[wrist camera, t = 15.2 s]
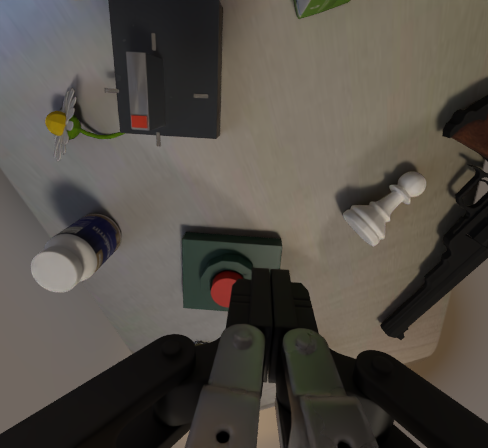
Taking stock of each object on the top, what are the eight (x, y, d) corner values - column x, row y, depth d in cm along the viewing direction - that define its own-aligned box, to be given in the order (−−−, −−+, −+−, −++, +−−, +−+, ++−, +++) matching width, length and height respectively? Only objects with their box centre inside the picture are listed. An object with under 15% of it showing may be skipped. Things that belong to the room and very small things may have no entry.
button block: (281, 238, 39) (283, 253, 36) (274, 304, 43) (275, 324, 40) (185, 231, 40) (178, 245, 36) (186, 298, 43) (180, 317, 40)
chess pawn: (339, 214, 38) (398, 163, 37) (368, 245, 38) (428, 194, 37) (345, 213, 33) (413, 154, 32) (378, 249, 33) (449, 190, 32)
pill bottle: (129, 247, 41) (91, 291, 32) (90, 257, 42) (42, 302, 33) (111, 207, 39) (65, 241, 30) (70, 217, 40) (13, 254, 31)
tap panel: (223, 8, 31) (219, -2, 28) (219, 145, 36) (216, 150, 33) (110, 2, 31) (94, -8, 28) (122, 139, 36) (109, 143, 33)
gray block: (146, 58, 30) (124, 51, 25) (163, 59, 30) (144, 52, 25) (149, 124, 32) (130, 129, 27) (165, 125, 32) (148, 130, 27)
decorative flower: (153, 86, 27) (19, 156, 30) (188, 131, 33) (72, 186, 36) (144, 33, 31) (24, 100, 34) (177, 82, 36) (71, 136, 39)
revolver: (308, 276, 43) (395, 330, 45) (310, 292, 40) (404, 350, 41) (482, 76, 32) (591, 158, 33) (505, 74, 28) (625, 165, 30)
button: (246, 271, 37) (246, 279, 36) (244, 299, 39) (244, 308, 37) (213, 269, 37) (210, 277, 36) (212, 297, 39) (210, 306, 37)
